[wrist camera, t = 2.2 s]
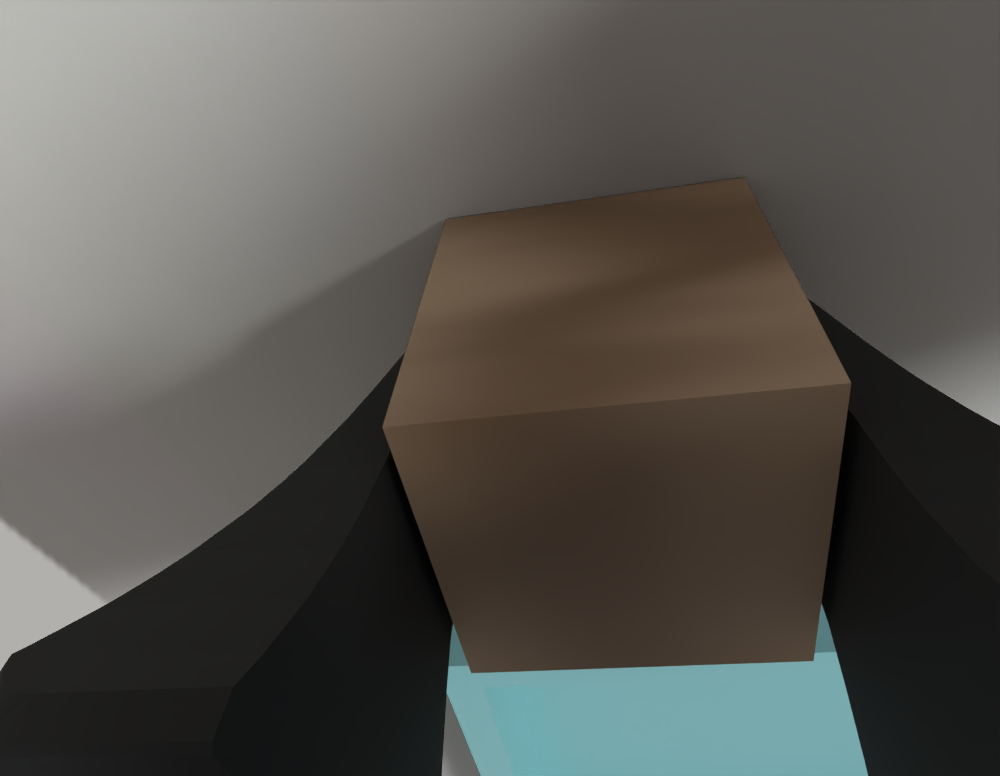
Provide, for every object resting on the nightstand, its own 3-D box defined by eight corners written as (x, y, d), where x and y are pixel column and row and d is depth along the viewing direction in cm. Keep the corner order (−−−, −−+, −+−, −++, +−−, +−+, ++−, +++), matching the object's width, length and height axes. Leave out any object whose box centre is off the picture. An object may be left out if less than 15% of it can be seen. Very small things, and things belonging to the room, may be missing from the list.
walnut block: (744, 176, 11) (851, 383, 7) (739, 413, 13) (812, 661, 9) (446, 218, 11) (382, 427, 7) (497, 435, 14) (471, 673, 10)
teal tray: (1147, 524, 14) (1240, 636, 12) (988, 831, 22) (1030, 927, 20) (451, 566, 16) (435, 666, 14) (540, 830, 25) (538, 918, 23)
